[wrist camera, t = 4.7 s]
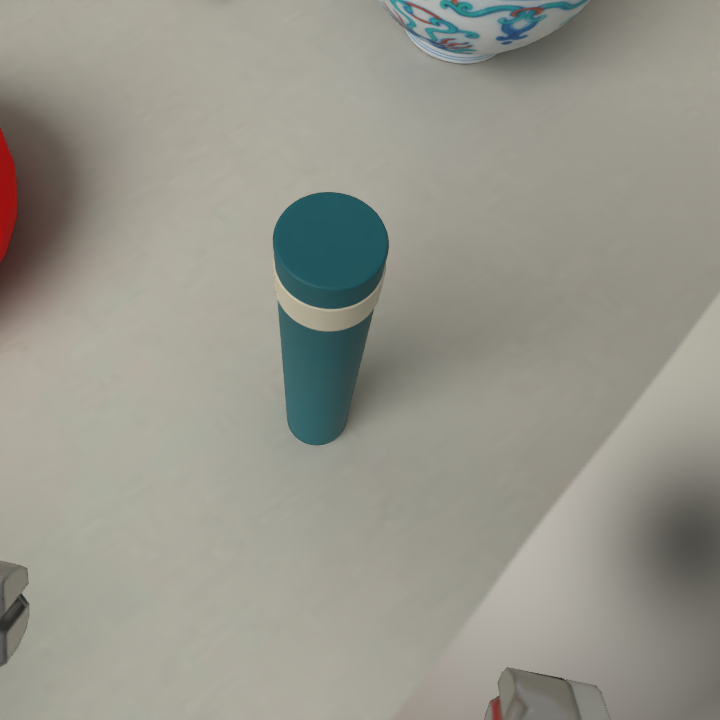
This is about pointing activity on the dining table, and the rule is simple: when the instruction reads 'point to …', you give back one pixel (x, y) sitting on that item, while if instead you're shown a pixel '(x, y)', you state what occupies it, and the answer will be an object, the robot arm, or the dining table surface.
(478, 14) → the chinaware
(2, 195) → the red disc with nozzle
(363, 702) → the dining table surface
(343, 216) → the teal banded tube
